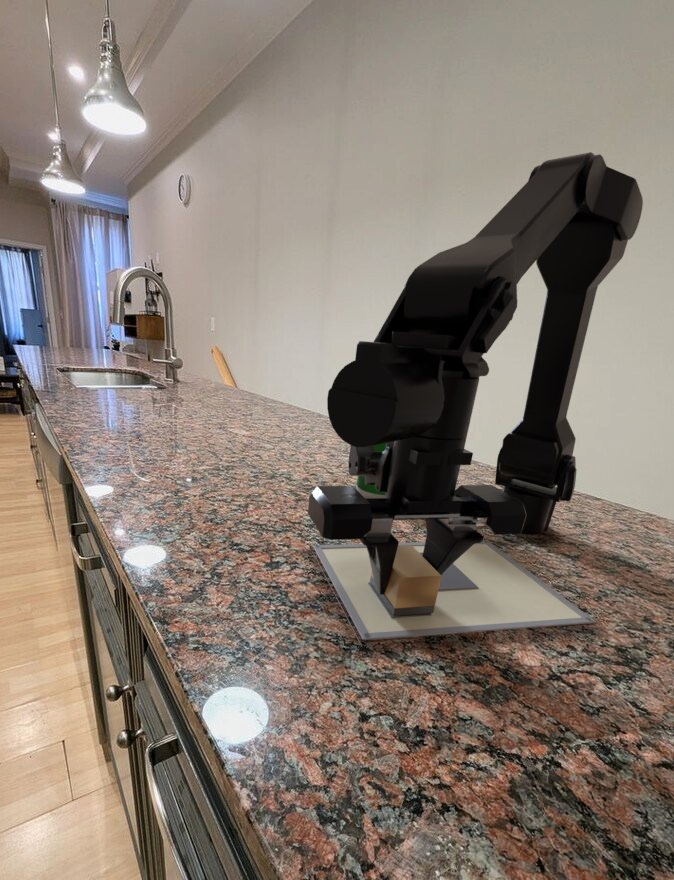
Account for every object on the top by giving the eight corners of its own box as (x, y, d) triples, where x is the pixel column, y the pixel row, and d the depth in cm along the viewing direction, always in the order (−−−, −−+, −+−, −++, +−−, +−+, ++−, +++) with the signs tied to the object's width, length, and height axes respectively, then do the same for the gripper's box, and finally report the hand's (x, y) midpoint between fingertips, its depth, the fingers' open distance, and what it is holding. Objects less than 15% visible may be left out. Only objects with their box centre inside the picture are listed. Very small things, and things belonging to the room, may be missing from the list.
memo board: (485, 546, 58) (487, 540, 58) (593, 629, 42) (597, 621, 42) (312, 551, 53) (312, 545, 53) (361, 647, 38) (363, 639, 37)
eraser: (405, 579, 47) (412, 545, 45) (433, 613, 41) (442, 575, 40) (369, 581, 46) (374, 546, 44) (393, 616, 40) (400, 577, 39)
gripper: (475, 416, 47) (445, 549, 52) (301, 410, 43) (290, 555, 49) (553, 442, 36) (505, 603, 42) (334, 438, 33) (316, 616, 39)
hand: (401, 591), depth 43 cm, fingers closed on eraser, 4 cm apart
